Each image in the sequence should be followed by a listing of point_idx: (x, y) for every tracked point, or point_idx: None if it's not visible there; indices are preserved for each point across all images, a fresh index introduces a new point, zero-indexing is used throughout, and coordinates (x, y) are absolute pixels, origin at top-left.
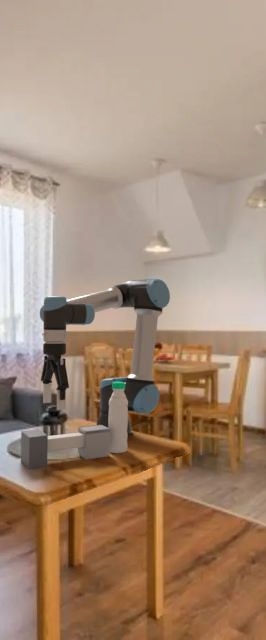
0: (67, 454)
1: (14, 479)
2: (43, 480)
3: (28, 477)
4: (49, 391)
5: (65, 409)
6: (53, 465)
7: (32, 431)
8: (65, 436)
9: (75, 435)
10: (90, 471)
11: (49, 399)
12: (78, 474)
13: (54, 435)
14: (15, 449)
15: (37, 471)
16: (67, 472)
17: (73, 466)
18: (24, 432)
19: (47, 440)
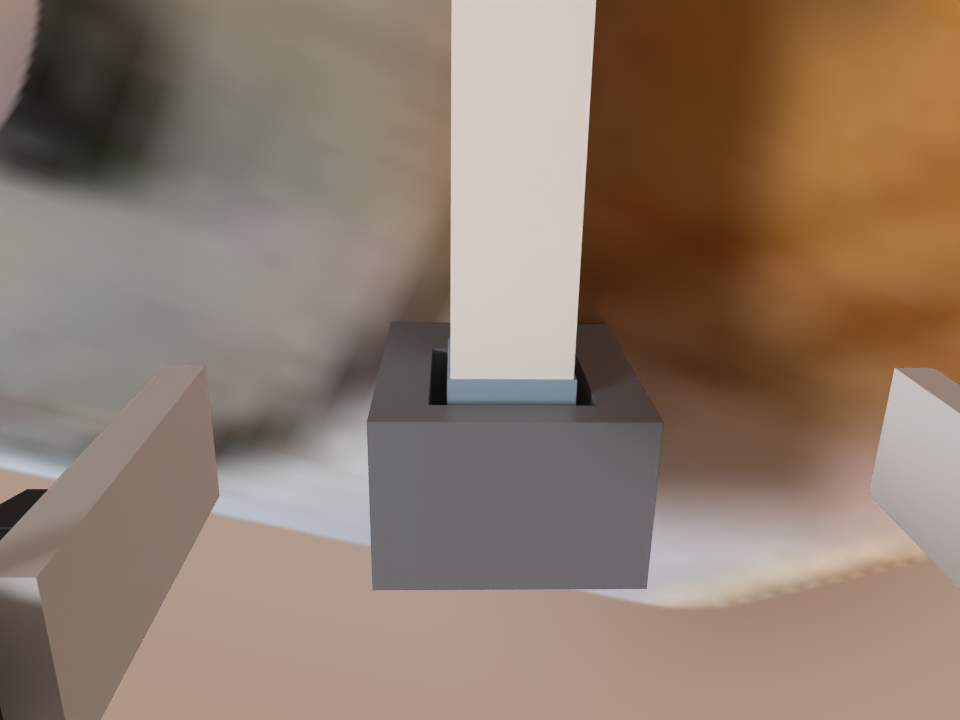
0: (373, 48)
1: (737, 575)
2: (860, 436)
3: (752, 498)
4: (133, 508)
5: (934, 370)
6: (607, 273)
7: (434, 505)
8: (555, 163)
9: (566, 34)
10: (902, 64)
11: (193, 424)
12: (903, 182)
13: (457, 257)
14: (52, 406)
15: (673, 417)
16: (815, 238)
17: (714, 139)
18: (440, 579)
19: (651, 402)
